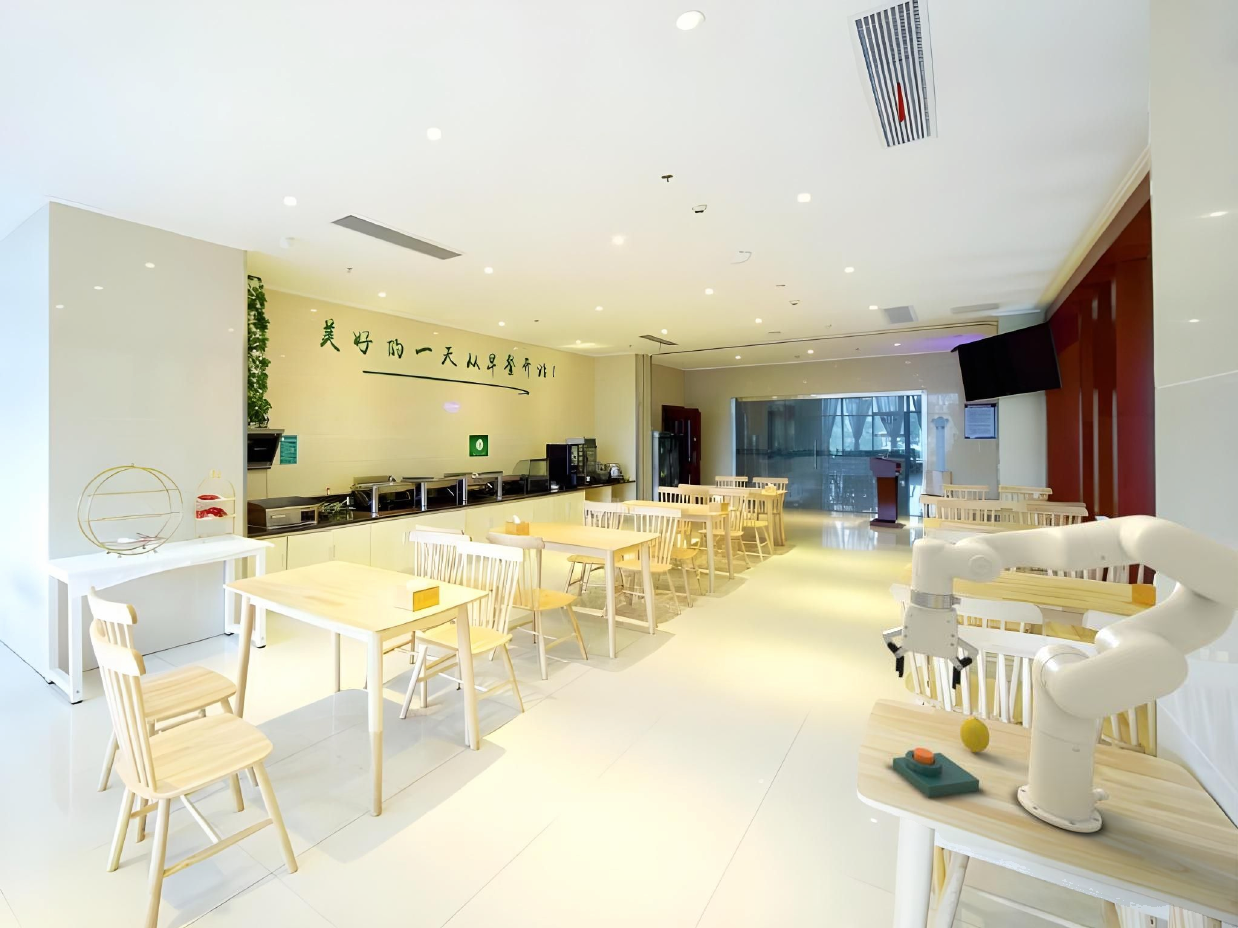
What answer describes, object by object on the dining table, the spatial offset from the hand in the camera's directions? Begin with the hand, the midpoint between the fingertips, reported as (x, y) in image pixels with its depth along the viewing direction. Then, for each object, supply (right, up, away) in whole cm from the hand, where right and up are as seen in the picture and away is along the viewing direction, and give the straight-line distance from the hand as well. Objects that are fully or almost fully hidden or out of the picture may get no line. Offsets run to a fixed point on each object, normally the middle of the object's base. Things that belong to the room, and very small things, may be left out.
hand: (927, 680), depth 115 cm
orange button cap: (0, -17, +1) cm, 17 cm away
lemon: (+17, -21, +11) cm, 29 cm away
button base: (+2, -20, 0) cm, 21 cm away
